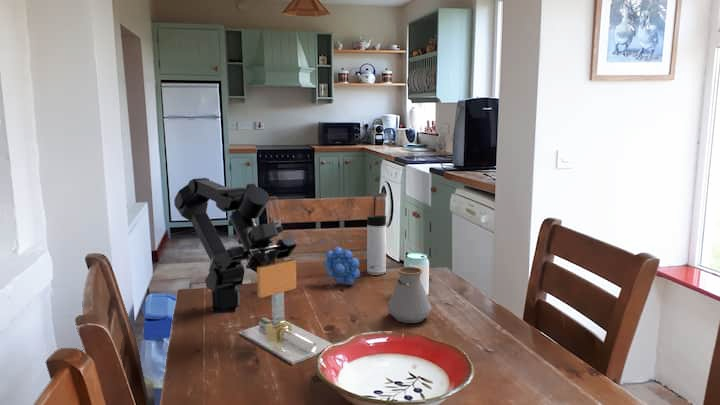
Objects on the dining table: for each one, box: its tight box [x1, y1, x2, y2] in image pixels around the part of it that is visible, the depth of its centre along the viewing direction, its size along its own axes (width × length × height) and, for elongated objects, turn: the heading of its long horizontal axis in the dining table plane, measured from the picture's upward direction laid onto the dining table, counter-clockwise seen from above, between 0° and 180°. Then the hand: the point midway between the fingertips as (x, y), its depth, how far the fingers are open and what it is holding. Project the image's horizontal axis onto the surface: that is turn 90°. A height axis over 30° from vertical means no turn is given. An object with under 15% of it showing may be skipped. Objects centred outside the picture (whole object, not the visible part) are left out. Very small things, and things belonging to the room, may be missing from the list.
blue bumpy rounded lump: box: [323, 246, 361, 285], centre depth 163 cm, size 12×7×12 cm, turn 78°
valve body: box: [239, 317, 333, 365], centre depth 124 cm, size 22×12×3 cm, turn 43°
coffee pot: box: [387, 266, 432, 324], centre depth 132 cm, size 21×12×15 cm, turn 165°
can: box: [404, 252, 430, 296], centre depth 155 cm, size 7×7×12 cm
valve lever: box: [256, 258, 297, 325], centre depth 125 cm, size 2×10×15 cm, turn 132°
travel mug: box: [366, 214, 387, 275], centre depth 175 cm, size 6×7×20 cm
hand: (274, 282), depth 125 cm, fingers closed
